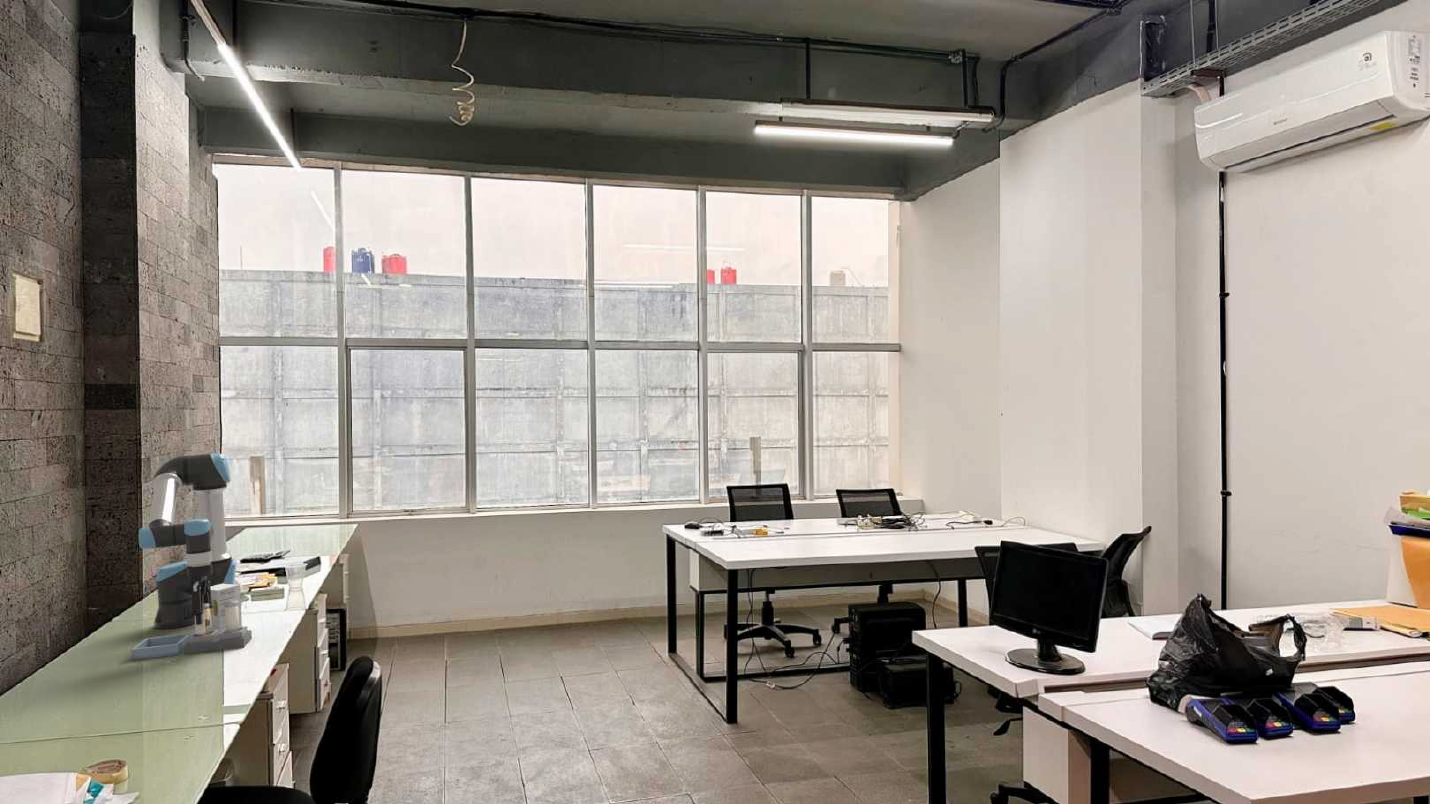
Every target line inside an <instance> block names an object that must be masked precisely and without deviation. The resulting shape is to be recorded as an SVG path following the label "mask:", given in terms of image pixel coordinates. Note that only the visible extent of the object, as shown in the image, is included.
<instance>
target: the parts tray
mask: <svg viewBox="0 0 1430 804" xmlns="http://www.w3.org/2000/svg"><path fill="white" fill-rule="evenodd" d="M191 635H192V633H181V634H174V635H165V636H157V637H156V636H154V637H148V638H144V639H143V640H142V641H141V642H139V643H137V644H136V645H135V646H134V647H132V648H131V650H130V657H131V659H130V660H131V661H134V660H135V661H136V660H143V659H153V658H161V657H163V658H164V657H168V656H178V655H180V654H181V653H182V652H184V651H185V645H186V644H187V643H188V642H189V637H190V636H191Z"/></svg>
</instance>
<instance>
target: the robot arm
mask: <svg viewBox="0 0 1430 804" xmlns="http://www.w3.org/2000/svg"><path fill="white" fill-rule="evenodd" d="M231 478H232V477H231V472H230V466H229V463H228V459H227V457H226V456H225V454H223V453H205V454H203V453H202V454H193V455H179V456H176V457H173V458H171V459H169V460H167V461H166V462H165V463H164V464H163V463H162V465H161V466H160V467H159V468H158V469H157V470H156V471H155V473H154V475H153V478H152V483H151V486H152V489H153V494H152V495H153V496H152V502H151V507H150V511H149V512H150V513H149V519H148V524H147V526H145V527H140V528H139V529H138V530H139V531H138V544H139V547H140V548H141V549H143V550H145V549H153V550H154V549H160V548H168V547H177V546H179V547H180V546H185V556H184V559H186V560H182V561H178V562H174V563H170V564H167V565H164V566H161V567H159V569H157V572H156V581H155V582H156V587H157V600H158V607H157V611H156V615H155V617H154V621H153V623H154V624H153V625H154V626H153V627H154V628H155V629H157V630H158V629H159V630H167V629H176V628H177V629H178V628H182V627H187V626H191V625H194V629H195V632H196V634H203V633H205V620H204V614H203V603H209V608H213V605H212V598H211V588H210V587H211V586H215V585H219V584H233V585H235V581H236V572H237V571H236V570H237V560H236V559H234V558H232V557H233V556H232V554H231V553H229V552H228V551H227V550H228V549H227V547H228V546H227V536H226V535H227V533H226V532H227V531H226V521H225V520H226V519H225V517H226V516H225V507H224V491H225V490H226V489H228V484H229V483H231V481H232V479H231ZM182 487H192V491H193V492H194V493H196V494H197V505H198V509H197V510H198V518H194V519H189V520H186V521H185V522H184V523H177V524H174V523H175V515H176V508H177V500H178V494H179V492H180V490H181V488H182ZM197 610H198V611H197ZM209 615H210V628H211V611H210V609H209Z"/></svg>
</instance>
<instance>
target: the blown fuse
mask: <svg viewBox="0 0 1430 804" xmlns="http://www.w3.org/2000/svg"><path fill="white" fill-rule="evenodd" d="M197 611H198V610H197ZM203 614H204V620H205V633H203V634H197V636H203V635H211V631H210V615H209V603H203Z"/></svg>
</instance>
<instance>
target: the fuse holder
mask: <svg viewBox="0 0 1430 804" xmlns="http://www.w3.org/2000/svg"><path fill="white" fill-rule="evenodd" d="M224 607H225V618H226V629H223V630H222V631H221V632H220V633H219V629H218V630H210V631H211V635H203V636H197V634H196V631H195V632H194V633H191V636H190V637H189V642H188V643H187V644H186V645H185V650H184V655H189V654H190V655H191V654H197V653H198V654H199V653H206V652H214V651H215V652H216V651H222V650H224V651H225V650H233V649H241V648H245V647H246V646H247V644H249V643H250V641H252V639H253V634H252V630H251V629H250V630H248V625H247V626H242V627H239V614H238V600H231V601H226V602H224Z"/></svg>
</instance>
